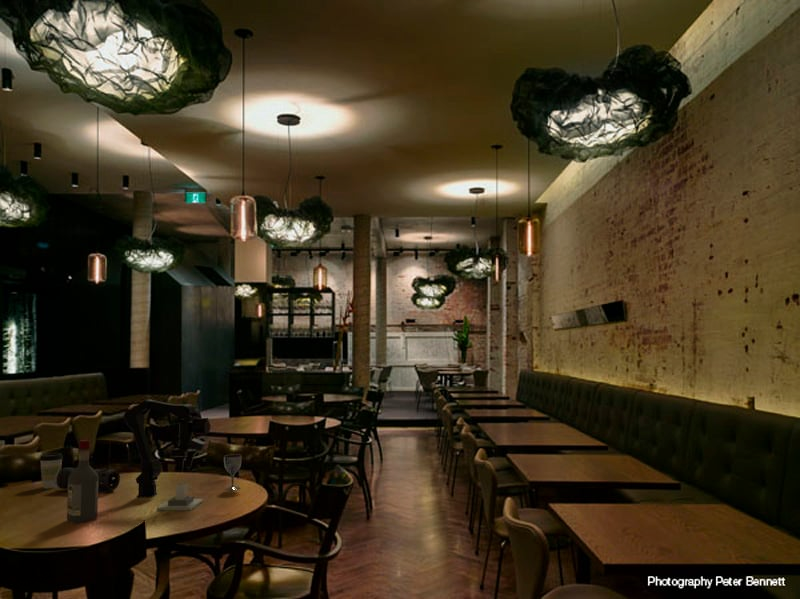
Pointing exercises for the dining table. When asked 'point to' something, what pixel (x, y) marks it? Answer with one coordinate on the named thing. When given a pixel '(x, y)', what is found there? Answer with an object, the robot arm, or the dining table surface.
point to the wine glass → (232, 467)
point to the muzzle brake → (103, 480)
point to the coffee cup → (50, 468)
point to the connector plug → (181, 491)
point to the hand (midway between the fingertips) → (185, 469)
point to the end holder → (180, 504)
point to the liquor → (82, 489)
